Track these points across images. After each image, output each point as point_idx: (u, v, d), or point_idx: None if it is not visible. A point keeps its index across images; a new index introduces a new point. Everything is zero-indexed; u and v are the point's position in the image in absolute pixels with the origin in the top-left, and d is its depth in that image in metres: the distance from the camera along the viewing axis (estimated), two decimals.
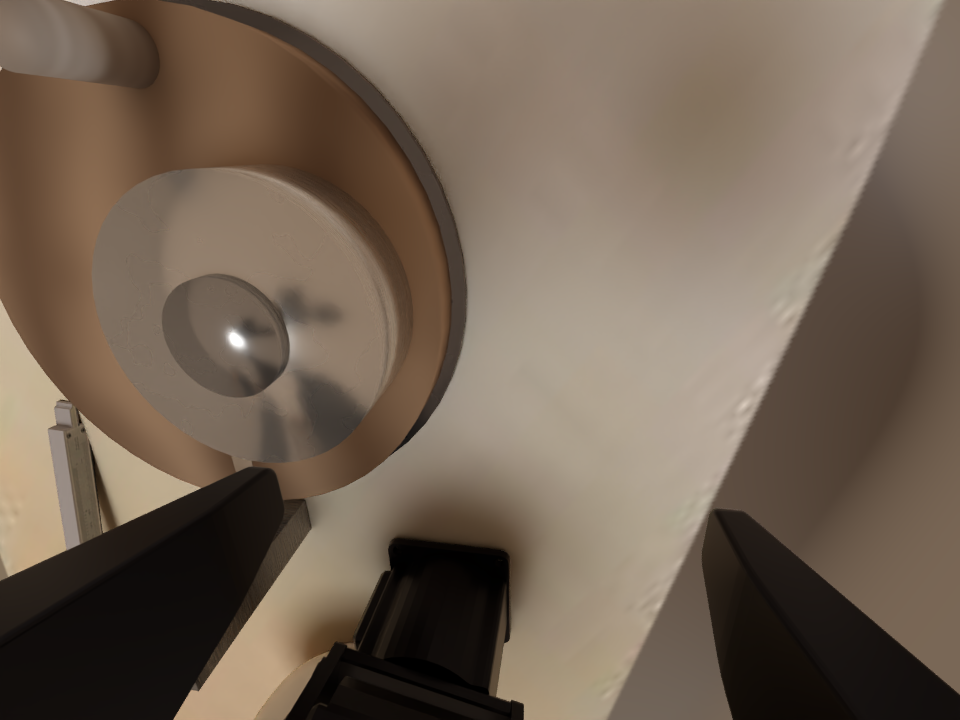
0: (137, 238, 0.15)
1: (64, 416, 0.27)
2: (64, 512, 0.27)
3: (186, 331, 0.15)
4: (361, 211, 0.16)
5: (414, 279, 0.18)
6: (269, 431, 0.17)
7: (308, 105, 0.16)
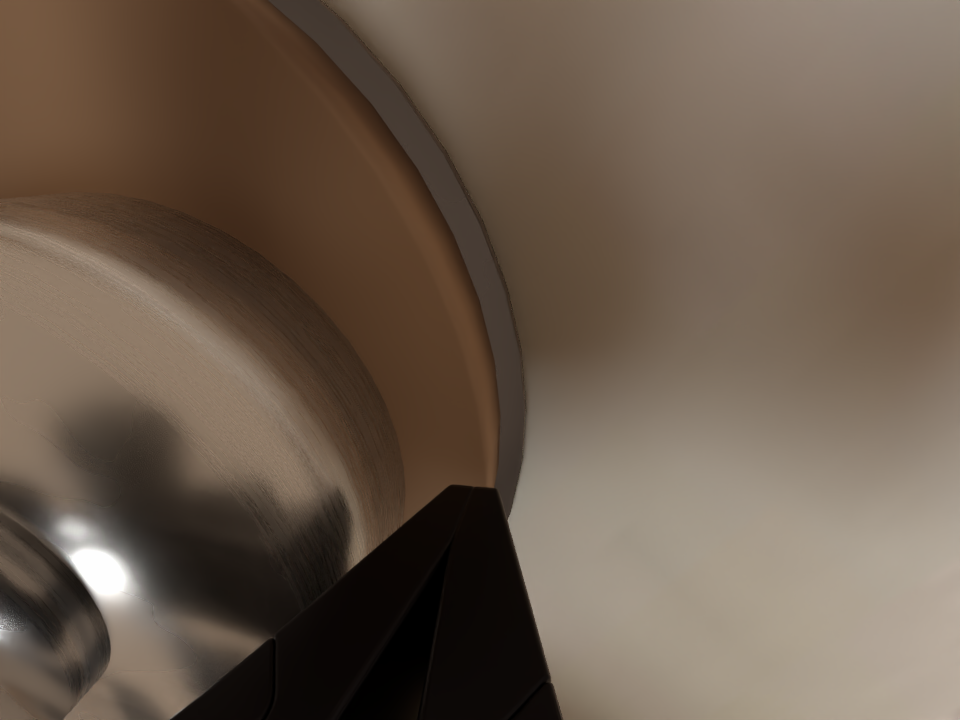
0: None
1: None
2: None
3: None
4: (283, 292, 0.07)
5: (435, 421, 0.08)
6: None
7: (181, 50, 0.07)
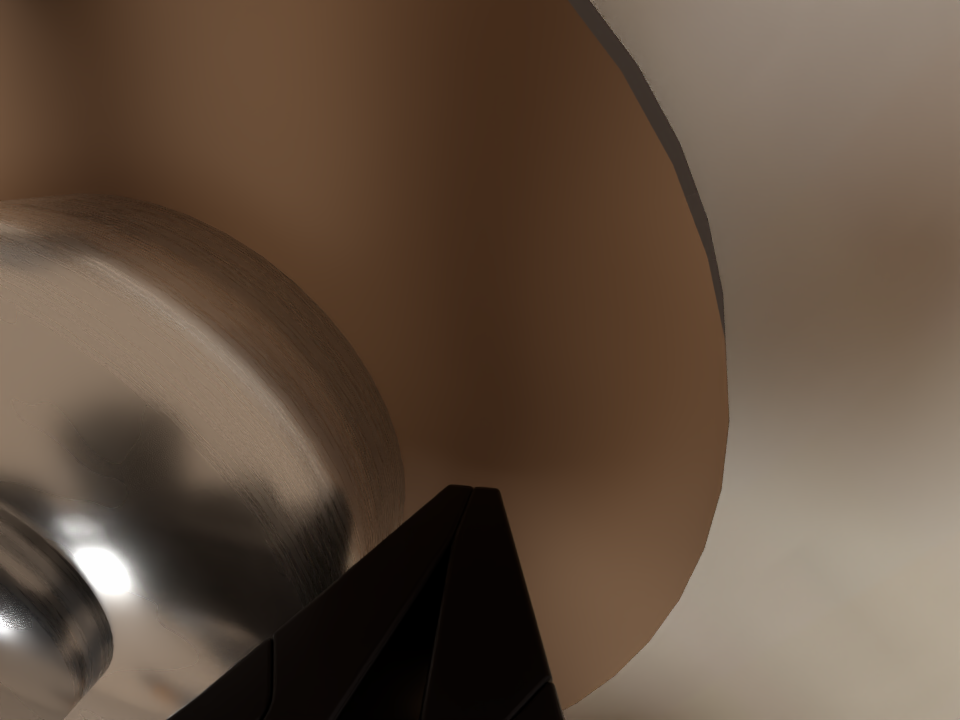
0: None
1: None
2: None
3: None
4: (287, 295, 0.08)
5: (675, 434, 0.08)
6: None
7: (467, 22, 0.06)
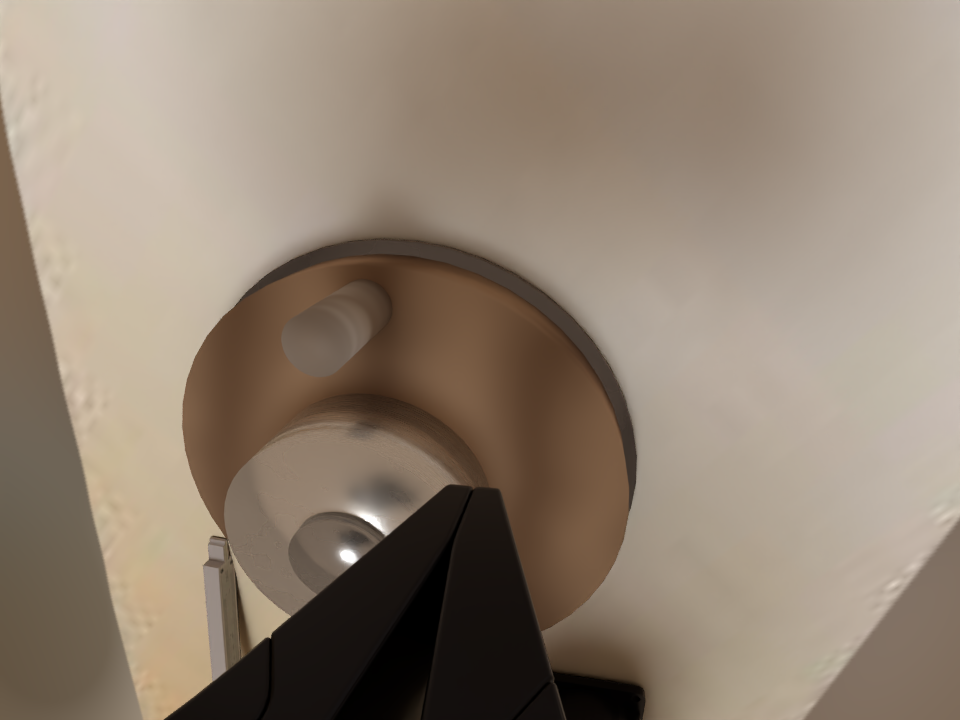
0: (269, 482, 0.17)
1: (217, 552, 0.28)
2: (212, 638, 0.29)
3: (309, 557, 0.18)
4: (452, 438, 0.19)
5: (608, 492, 0.19)
6: None
7: (530, 356, 0.17)
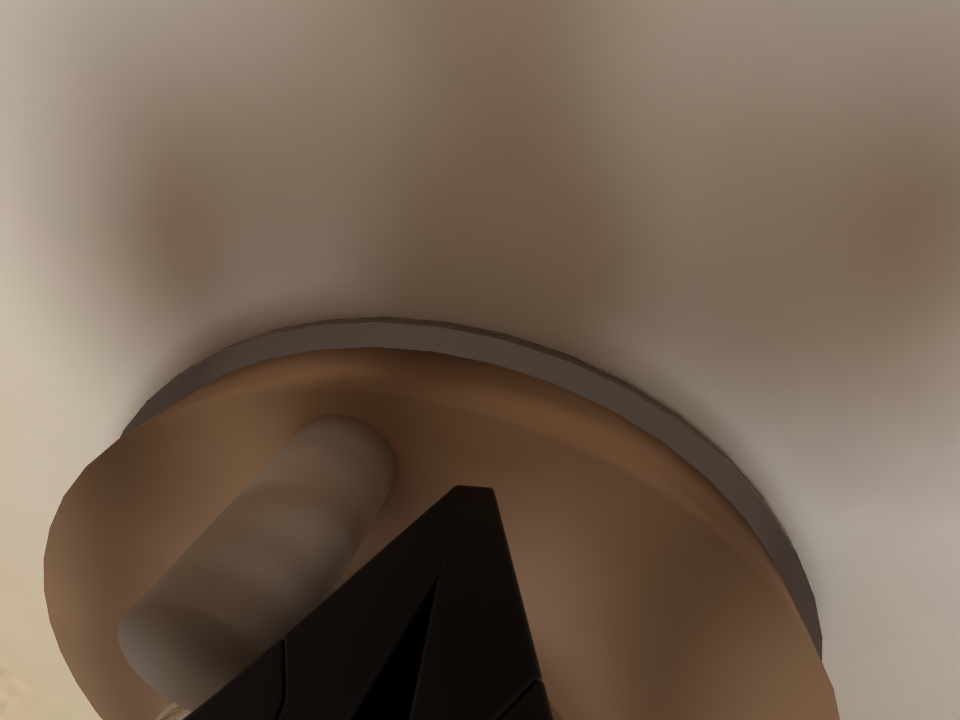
0: None
1: None
2: None
3: None
4: None
5: None
6: None
7: (673, 560, 0.09)
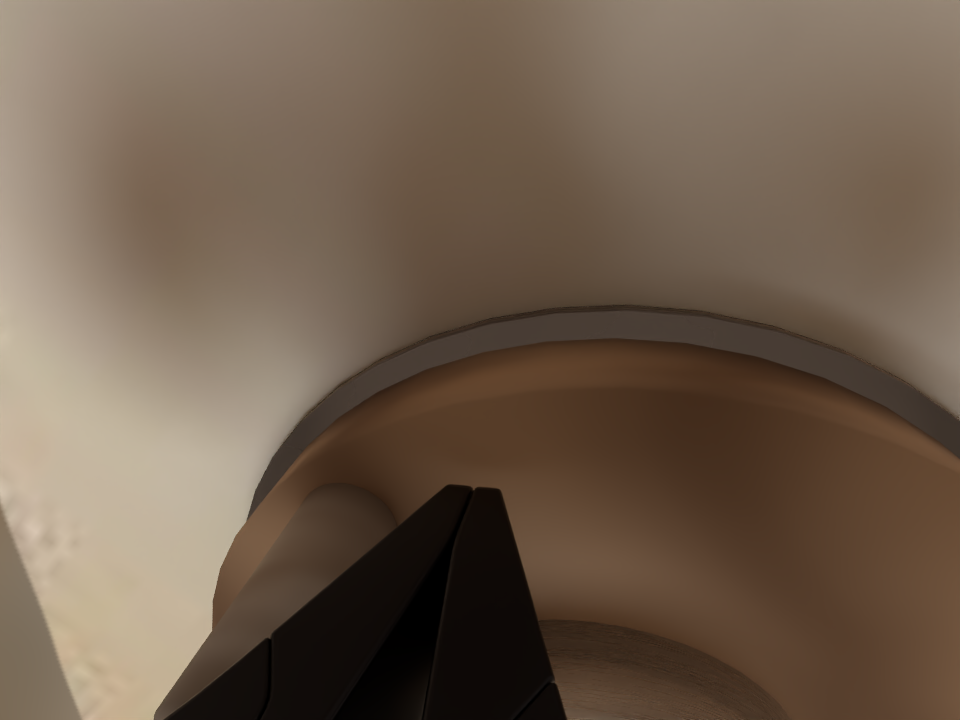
0: None
1: None
2: None
3: None
4: (629, 646, 0.09)
5: None
6: None
7: (666, 442, 0.08)
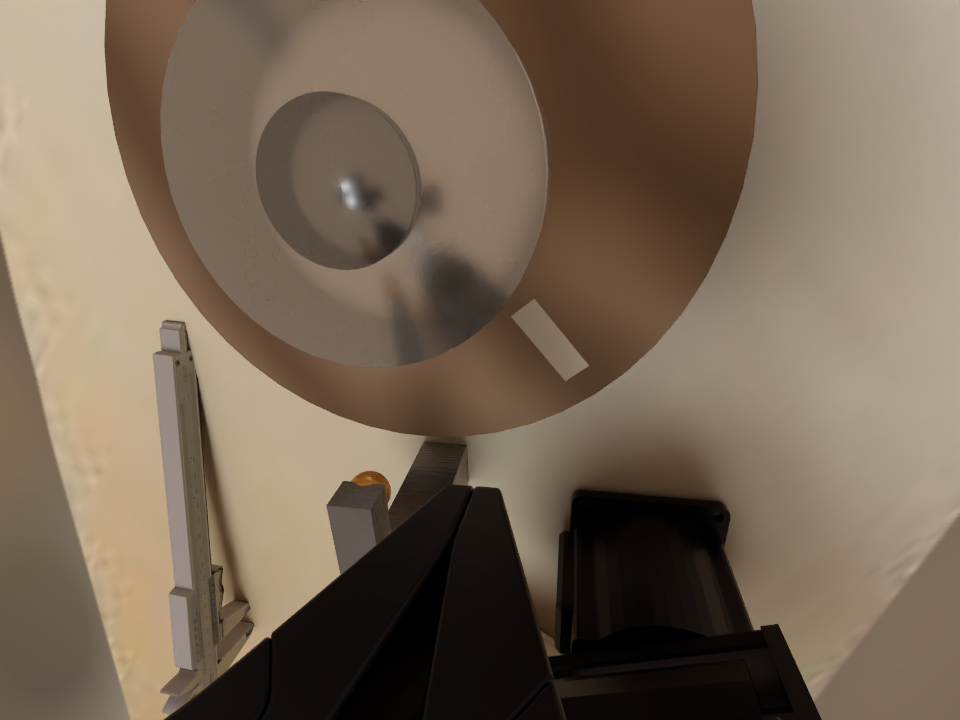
0: (199, 154, 0.12)
1: (172, 340, 0.22)
2: (167, 458, 0.23)
3: (297, 209, 0.12)
4: None
5: None
6: (454, 284, 0.13)
7: None
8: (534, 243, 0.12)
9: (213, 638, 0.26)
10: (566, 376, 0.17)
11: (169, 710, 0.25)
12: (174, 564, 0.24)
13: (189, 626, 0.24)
